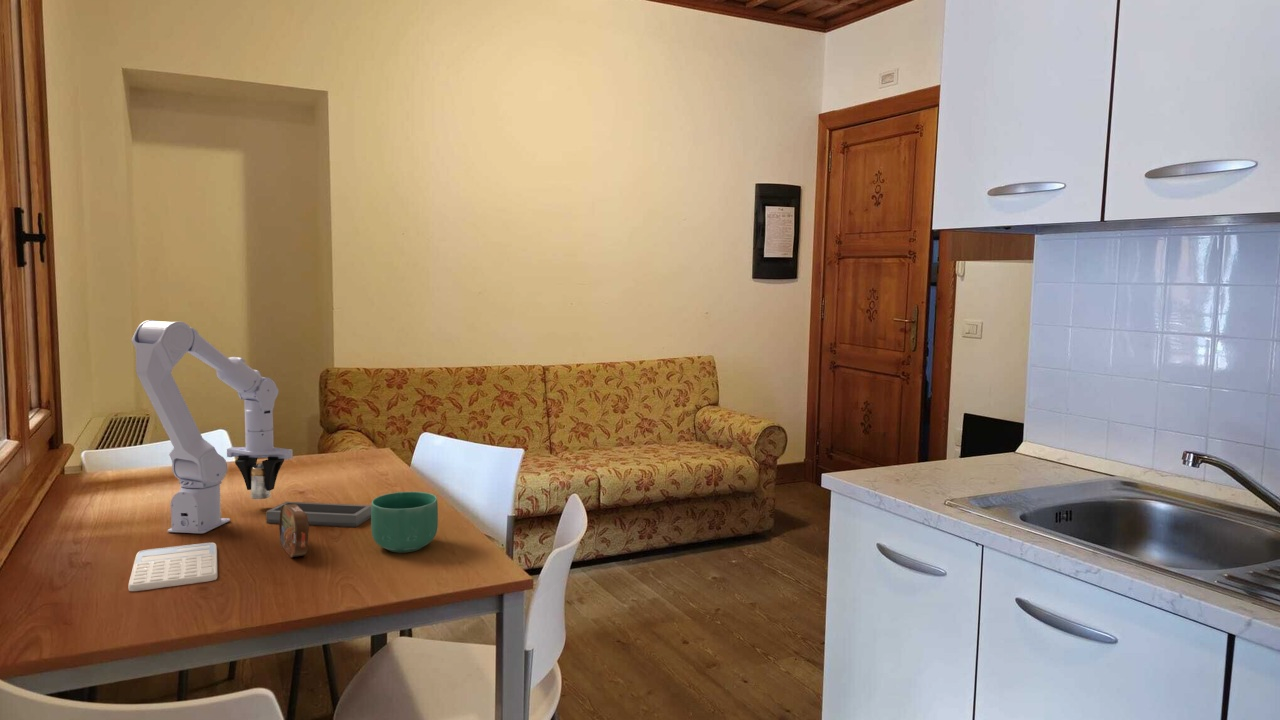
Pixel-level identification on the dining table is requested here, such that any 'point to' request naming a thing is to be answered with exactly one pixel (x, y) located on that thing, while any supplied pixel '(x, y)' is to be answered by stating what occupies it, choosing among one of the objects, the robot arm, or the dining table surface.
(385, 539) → the mug
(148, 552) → the calculator
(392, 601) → the dining table surface
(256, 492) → the cell
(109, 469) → the dining table surface
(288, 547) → the tin
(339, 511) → the trough
